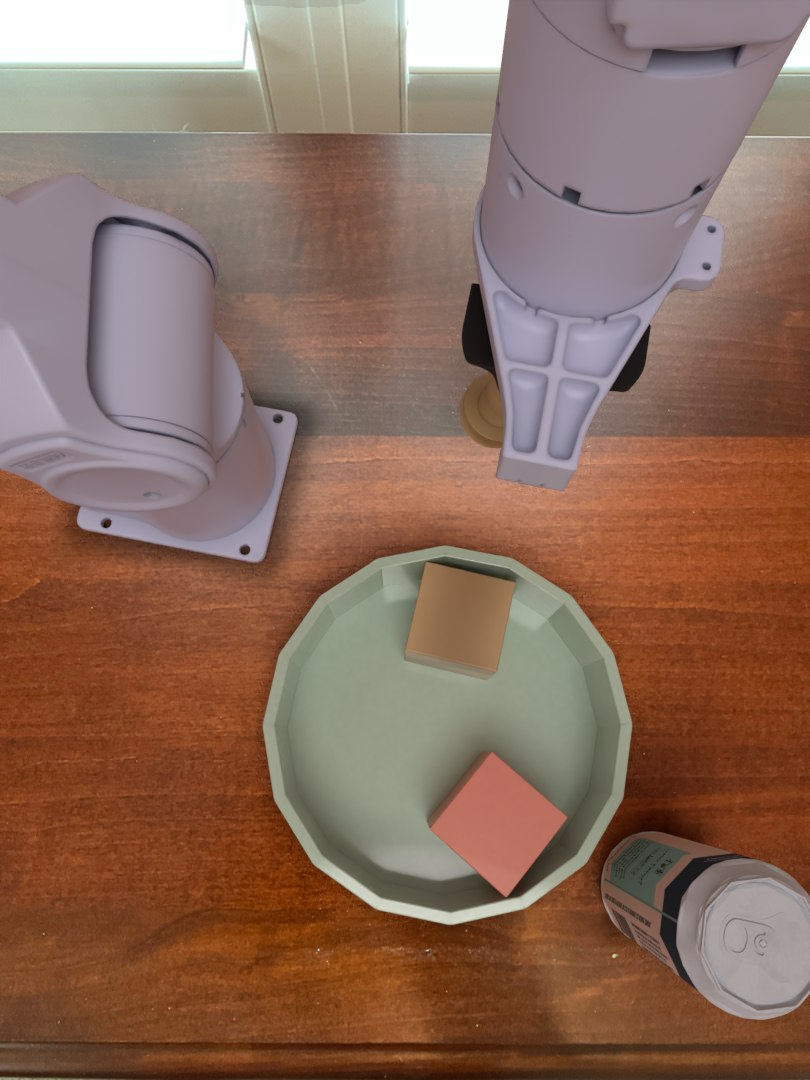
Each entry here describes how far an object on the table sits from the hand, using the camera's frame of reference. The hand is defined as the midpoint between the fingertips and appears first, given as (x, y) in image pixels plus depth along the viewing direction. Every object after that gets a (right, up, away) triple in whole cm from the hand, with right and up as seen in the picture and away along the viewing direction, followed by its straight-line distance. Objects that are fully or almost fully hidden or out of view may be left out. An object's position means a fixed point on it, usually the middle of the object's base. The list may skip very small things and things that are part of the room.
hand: (535, 370), depth 33 cm
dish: (-3, -16, +7) cm, 17 cm away
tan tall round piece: (-1, -1, +5) cm, 5 cm away
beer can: (+6, -22, +5) cm, 24 cm away
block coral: (-1, -19, +5) cm, 20 cm away
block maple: (-3, -11, +7) cm, 13 cm away
